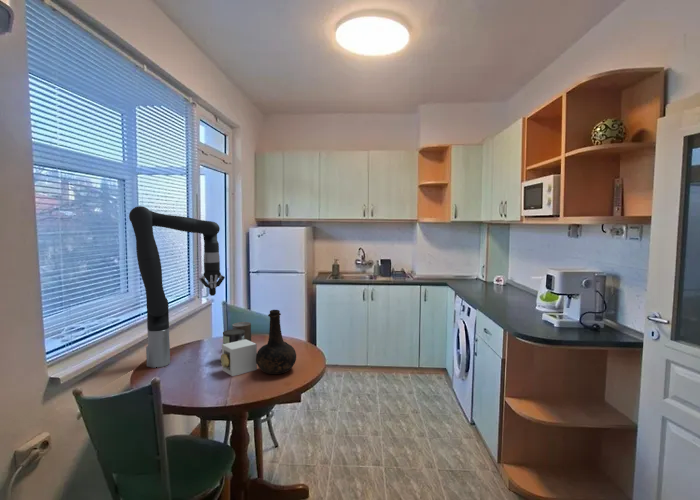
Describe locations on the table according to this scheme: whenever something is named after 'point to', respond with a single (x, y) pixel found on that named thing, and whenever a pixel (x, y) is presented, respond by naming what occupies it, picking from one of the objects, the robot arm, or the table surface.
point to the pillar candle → (246, 327)
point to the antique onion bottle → (275, 349)
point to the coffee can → (233, 335)
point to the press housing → (240, 357)
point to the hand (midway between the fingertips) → (212, 295)
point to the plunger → (225, 360)
